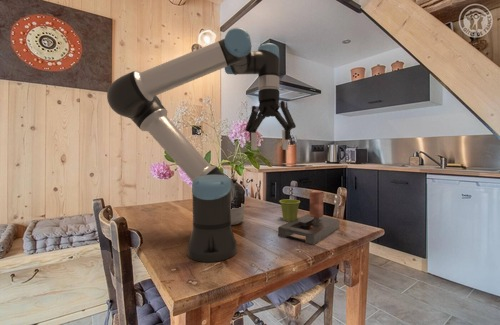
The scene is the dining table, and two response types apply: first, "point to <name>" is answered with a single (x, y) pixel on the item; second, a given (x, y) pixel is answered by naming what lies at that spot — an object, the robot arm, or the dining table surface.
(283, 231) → the slot bracket
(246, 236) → the dining table surface
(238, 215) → the teacup
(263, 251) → the dining table surface
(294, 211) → the plant pot
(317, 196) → the peg
